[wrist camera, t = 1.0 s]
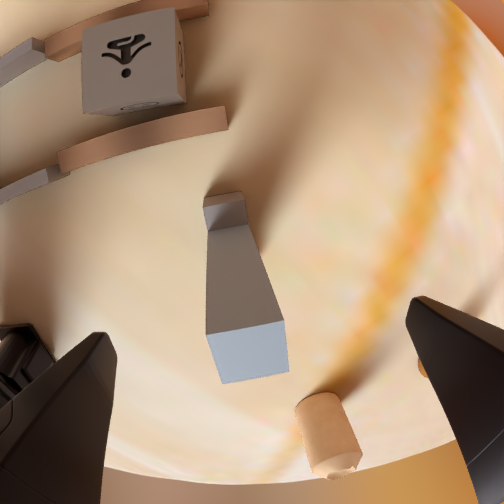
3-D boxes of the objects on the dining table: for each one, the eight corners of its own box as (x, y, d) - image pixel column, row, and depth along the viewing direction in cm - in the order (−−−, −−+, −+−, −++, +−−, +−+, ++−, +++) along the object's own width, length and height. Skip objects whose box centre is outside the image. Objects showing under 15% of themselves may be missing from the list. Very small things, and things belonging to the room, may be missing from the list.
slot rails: (74, 169, 17) (61, 174, 15) (57, 45, 13) (44, 39, 11) (226, 130, 17) (228, 129, 16) (205, -1, 13) (205, -14, 11)
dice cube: (183, 35, 14) (174, 6, 10) (187, 103, 16) (177, 93, 12) (111, 49, 14) (82, 29, 9) (113, 116, 16) (83, 113, 11)
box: (-7, 206, 16) (-28, 218, 14) (-24, 95, 12) (-46, 95, 9) (69, 174, 17) (49, 183, 14) (52, 45, 12) (31, 37, 10)
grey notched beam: (219, 271, 21) (230, 406, 10) (203, 197, 19) (193, 294, 8) (252, 264, 21) (291, 395, 11) (240, 190, 19) (279, 278, 8)
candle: (299, 394, 29) (324, 470, 20) (344, 388, 30) (375, 457, 20) (290, 420, 31) (309, 488, 22) (330, 415, 32) (355, 478, 23)
